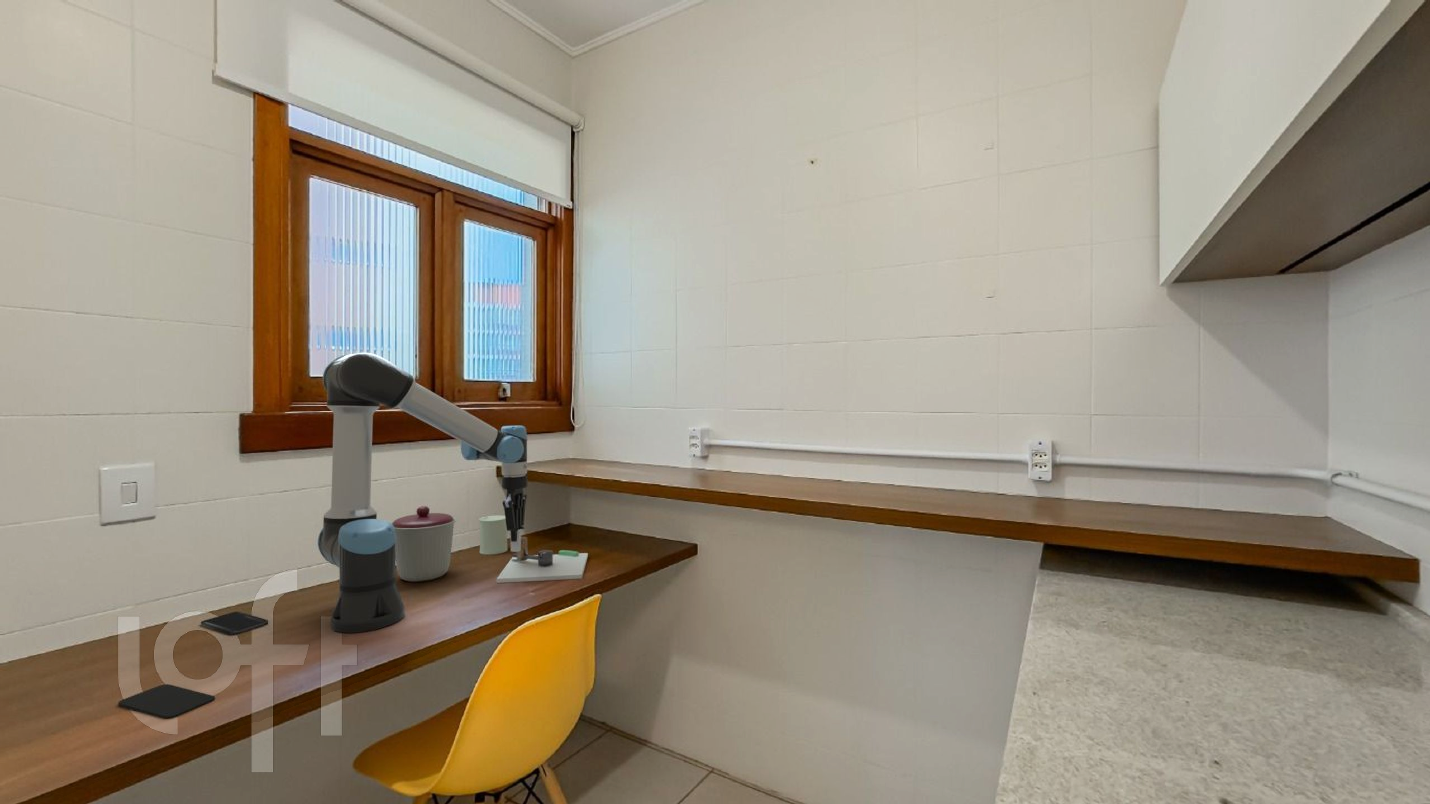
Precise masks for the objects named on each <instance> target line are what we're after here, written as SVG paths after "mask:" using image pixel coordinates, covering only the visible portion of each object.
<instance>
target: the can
mask: <svg viewBox="0 0 1430 804" xmlns="http://www.w3.org/2000/svg"><path fill="white" fill-rule="evenodd" d="M478 521H479V554H481V555H486V556H487V555H490V556H491V555H498V554H503V553H505V552H508V550H509V549H508V531H507V527H506V519H505V515H488V516H483V517H479V519H478Z"/></svg>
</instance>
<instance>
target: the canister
mask: <svg viewBox="0 0 1430 804" xmlns="http://www.w3.org/2000/svg"><path fill="white" fill-rule="evenodd" d="M415 512H416V514H411V515H405V516H402V517H398V518H397V519H395V520H393V522H390V523H391V524H392V525H393V526H394V529H395V535H396V541H395V561H396V569H397V573H398V576H399V578H400V579H401V580H403V581H406V582H426V581H431V580H435V579H438V578H440V577H442V576H444V575H445V574H446V573H447V572H448V570H449V568H450V563H451V562H450V561H451V556H452V555H451V554H452V547H453V537H454V528H455V527H454V525H455V523H456V522H457V518H456V517H455V516H452V515H450V514H447V513H443V512H442V513H440V512H430V508H429V507H428V506H427V505H425V506H423V505H422V506H418V508H416V511H415Z"/></svg>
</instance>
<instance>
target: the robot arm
mask: <svg viewBox="0 0 1430 804" xmlns="http://www.w3.org/2000/svg"><path fill="white" fill-rule="evenodd" d="M322 383H323V386H324V389H325V392H327V393H326V407H327V408H328V409H329V410H330V411H331V412H332V413H333V427H332V428H333V431H332V434H333V435H332V459H331V460H332V465H331V493H330V494H331V495H330V497H331V498H330V499H331V501H330V502H331V503H330V508H329V509H328V510H327V511H326V512H324V514H323V521H322V522H323V527H322V529H321V530H320V532H319V534H318V538H317V547H318V550H319V553H320V555H321V556H322V557H323V558H324V560H325V561H327V562H329V563H330V564H331V565H334V566H336V567H338V568H339V573H338V574H339V594H338V597H337V600H336V604H335V606H334V609H333V612H332V615H331V620H330V621H331V624H330V625H331V630H333V631H335V632H338V633H348V634H349V633H350V634H351V633H353V634H354V633H362V632H368V631H373V630H378V629H382V628H385V627H388V626H391V625H393V624H395V623H398V622H399V621H401V620H402V619H403V618H404V617H405V604H404V602H403V598H402V597H401V594H400V592H399V589H398V587H397V586H398V585H397V579H396V575H397V574H396V573H397V572H396V569H397V565H396V559H395V541H396V535H395V529H394V526H393V525H392V524H391V523H392V522H390V521H388V520H384V519H378V518H377V517H378V516H377V515H378V513H377V510H375V509H374V508H373V507H372V506H371V495H372V493H371V492H372V491H371V489H372V458H373V456H372V454H373V452H372V451H373V445H372V444H373V425H374V423H373V421H374V418H373V417H374V414H375V412H376V411H378V410H379V409H380V408H381V407H380V406H381V405H382V406H385V407H387V408H389V409H391V410H395V409H399V410H401V411H403V412H404V413H405V412H406V413H407V414H408V415H410V416H413V417H414V418H416V419H418V420H419V421H422V422H423V423H426V424H427V425H430V426H432V427H433V428H436V429H437V430H439V431H441V432H443V433H445V434H447V435H448V436H451V437H452V438H454V439H456V440H457V441H460V442H461V444H460V452H461V455H462V457H463V458H464V460H466V461H478V460H479V461H480V460H481V461H482V460H486V461H492V462H499V463H501V475H502V477H501V487H502V489H503V490H506V500H503V501H502V506H503V510H504V516H505V519H506V527H507V532H510V535H509V536H510V538H509V539H510V552H515V553H517V552H519V551H521V537H522V531H521V530H524V528H525V527H524V524H525V514H526V502H527V497H528V495H527V494H526V493H525V494H524V490H523V489H526V488H527V487H528V476H527V475H526V474H527V473H528V468H529V464H528V443H527V442H528V436H527V435H528V433H527V428H526V427H525V426H524V425H503V426H502V427H501V428H500V430H499V429H497V428H495V426H492V425H491V424H489V423H487V422H485V421H483V420H482V419H480V418H478V417H477V416H474V415H473V414H471V413H469V412H468V411H466V410H464V409H462V408H461V407H459V406H457V405H455V404H454V403H452V402H450V401H449V400H447V399H445V398H443V397H441V396H440V395H438V394H437V393H435V392H433V391H431V390H430V389H427V388H426V387H424V386H422V385H421V384H419V383H417V382H416V379H415V377H414V376H413V375H412V374H411V373H409V372H407V371H405V370H404V369H402V368H401V367H399V366H397V365H395V364H393V363H392V362H390V361H389V360H387V359H386V358H383V357H382V356H380V355H377V354H374V353H371V352H359V353H352V354H344V355H341V356H339V357H337V358H335V359H333V360H332V361H330V362H329V364H327V365H326V367H325V368H324V371H323V374H322ZM380 404H381V405H380Z"/></svg>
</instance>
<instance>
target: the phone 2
mask: <svg viewBox="0 0 1430 804" xmlns="http://www.w3.org/2000/svg"><path fill="white" fill-rule="evenodd" d="M268 625H269V620H268V619H267V618H266V619H265V618H263V617H259V616H255V615H252V614H248V613H244V612H242V611H234V612H233V611H231V612H230V613H226V614H222V615H218V616H215V617H211V618H208V619H205V620H202V621H200V626H201V627H204V628H205V629H207V628H208V629H210V630H213V631H216V632H219V633H222V634H224V635H228V636H236V635H240V634H243V633H245V632H246V633H247V632H249V631H253V630H256V629H258V628H262V627H266V626H268Z"/></svg>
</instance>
